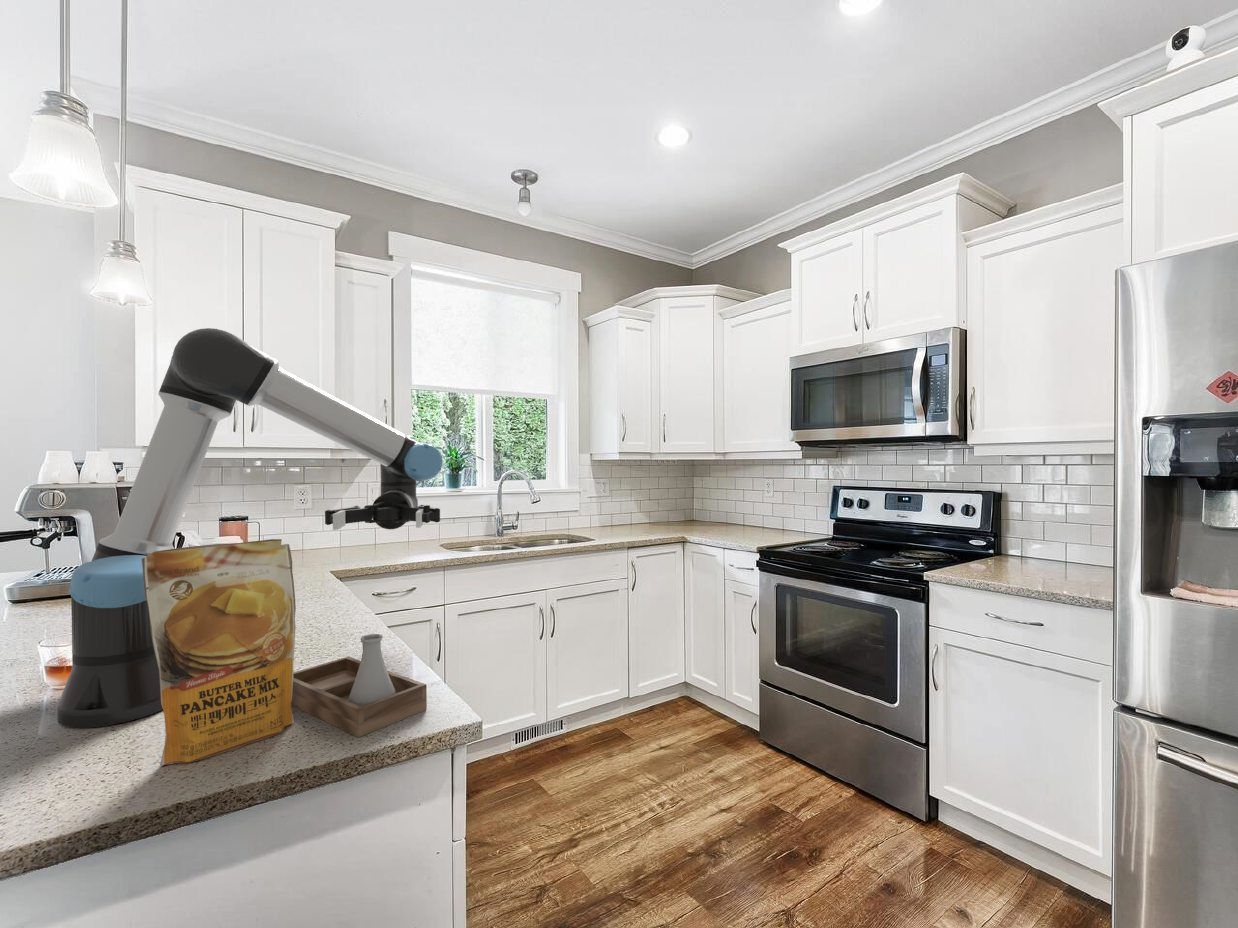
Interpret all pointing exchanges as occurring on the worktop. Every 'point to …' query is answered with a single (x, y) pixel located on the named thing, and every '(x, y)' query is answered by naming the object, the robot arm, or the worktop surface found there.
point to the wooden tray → (330, 690)
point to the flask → (371, 674)
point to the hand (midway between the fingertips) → (377, 520)
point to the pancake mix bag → (222, 644)
